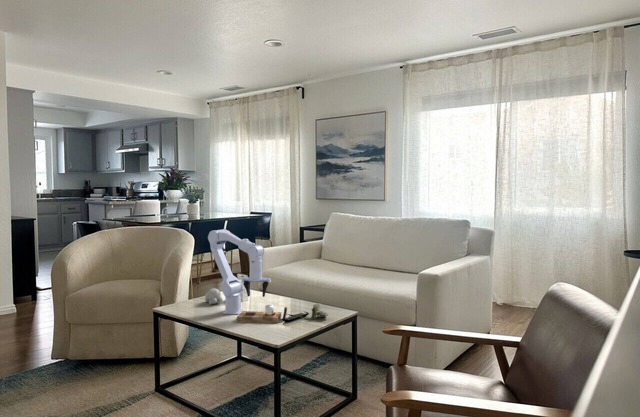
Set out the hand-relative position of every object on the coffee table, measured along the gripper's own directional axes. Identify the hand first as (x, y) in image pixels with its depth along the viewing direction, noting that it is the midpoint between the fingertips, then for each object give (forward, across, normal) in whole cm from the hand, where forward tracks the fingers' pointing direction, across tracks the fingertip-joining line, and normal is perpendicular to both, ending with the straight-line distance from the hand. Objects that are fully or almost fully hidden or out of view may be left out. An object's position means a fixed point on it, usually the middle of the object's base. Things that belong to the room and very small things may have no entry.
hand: (256, 296), depth 228 cm
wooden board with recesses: (+10, +3, -5) cm, 12 cm away
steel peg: (+10, +8, -5) cm, 14 cm away
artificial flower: (+11, +25, 0) cm, 27 cm away
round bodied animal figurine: (+11, -31, +22) cm, 39 cm away
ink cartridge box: (+11, -17, +31) cm, 37 cm away
